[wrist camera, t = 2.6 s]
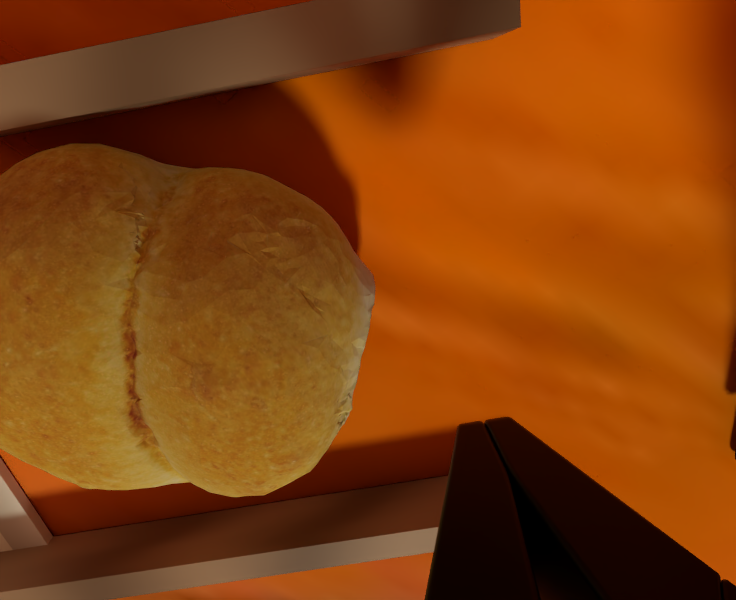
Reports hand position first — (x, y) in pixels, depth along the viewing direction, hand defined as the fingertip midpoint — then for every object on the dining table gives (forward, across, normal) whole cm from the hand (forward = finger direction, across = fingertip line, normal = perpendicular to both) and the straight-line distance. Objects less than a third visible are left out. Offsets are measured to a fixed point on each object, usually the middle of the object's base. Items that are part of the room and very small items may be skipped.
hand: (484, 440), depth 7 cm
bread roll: (+6, +9, 0) cm, 11 cm away
